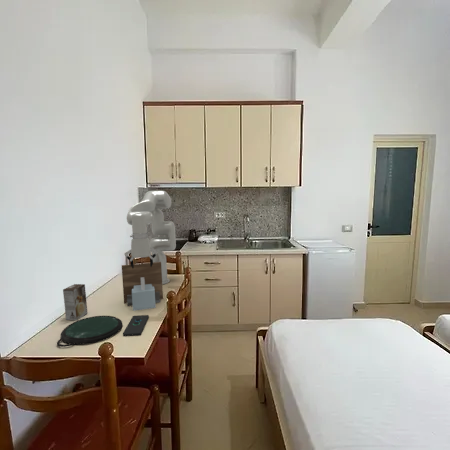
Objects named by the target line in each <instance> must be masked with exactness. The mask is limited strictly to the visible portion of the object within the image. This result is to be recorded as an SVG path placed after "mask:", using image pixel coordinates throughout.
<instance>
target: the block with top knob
mask: <svg viewBox="0 0 450 450" xmlns="http://www.w3.org/2000/svg"><path fill="white" fill-rule="evenodd" d="M132 304H133V306H132V311H142V310H149V309H154V308H155V309H156V308H157V307H156V304H157V303H155V289H154V286H153V287H152V284H145V280H144V277H142V278H141V285H136V286H134V289H132Z"/></svg>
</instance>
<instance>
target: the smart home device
mask: <svg viewBox="0 0 450 450" xmlns="http://www.w3.org/2000/svg"><path fill="white" fill-rule="evenodd" d="M149 318H150V317H149V314H143V315H132V317H131V319H130V320H129V322H128V324H127V325H126V327H125V329H124V330H123V332H122V336H123V337H134V336H135V337H136V336H137V337H138V336H141V335H142V333H143V332H144V330H145V327H146V325H147V322H148V320H149Z"/></svg>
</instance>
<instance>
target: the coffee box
mask: <svg viewBox="0 0 450 450" xmlns="http://www.w3.org/2000/svg"><path fill="white" fill-rule="evenodd" d="M62 293H63V303H64V310H65V312H64V313H65V320H66V321H78V320H80V319H81V318H83V317H84V316H86V315H87V314H88V305H87V303H88V302H87V293H86V284H83V283H80V284H79V283H78V284H77V283H76V284H75V283H74V284H71V285H70V286H67V287H66V288H64V289H62Z"/></svg>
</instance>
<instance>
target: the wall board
mask: <svg viewBox="0 0 450 450" xmlns="http://www.w3.org/2000/svg"><path fill="white" fill-rule="evenodd" d="M133 264H134V268H133V269H132V267H131V263H130V264H121V277H122V291H123V292H122V293H123V294H122V295H123V303H124V304H127V307H131V306H132V307H133V304H132V289H134V286H136V285H141V278H142V277H144V280H145V284H152V287H153V286H154V289H155V304H157V303H161V300H163V299H164V294H163V293H164V292H163V284H162V269H161V262H153V265H152V267H151V266H150V262H143V263H133Z"/></svg>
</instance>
